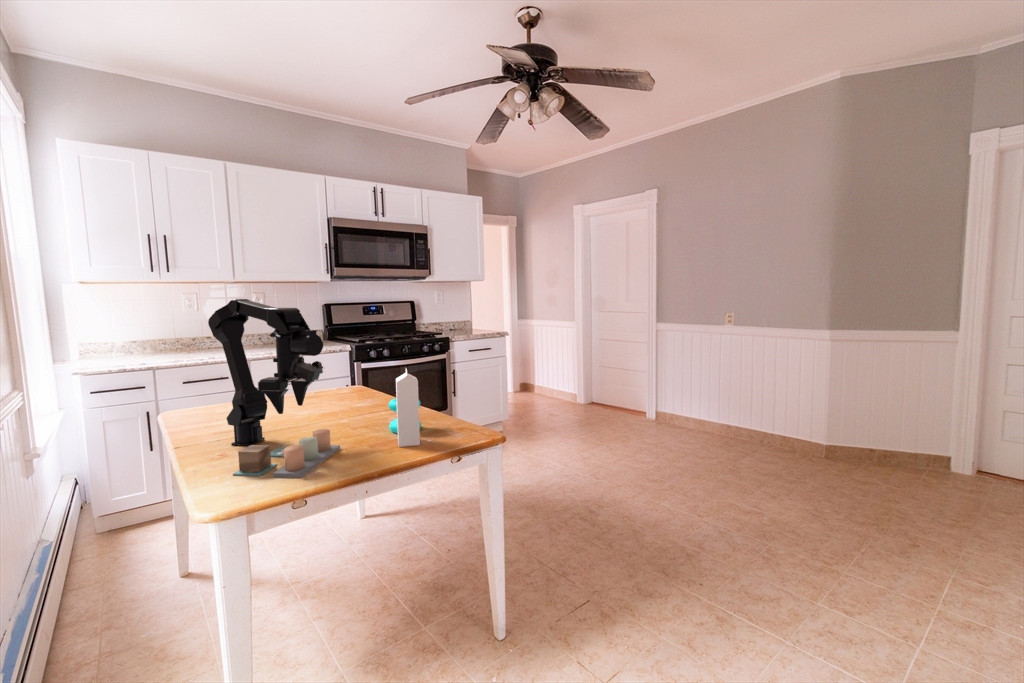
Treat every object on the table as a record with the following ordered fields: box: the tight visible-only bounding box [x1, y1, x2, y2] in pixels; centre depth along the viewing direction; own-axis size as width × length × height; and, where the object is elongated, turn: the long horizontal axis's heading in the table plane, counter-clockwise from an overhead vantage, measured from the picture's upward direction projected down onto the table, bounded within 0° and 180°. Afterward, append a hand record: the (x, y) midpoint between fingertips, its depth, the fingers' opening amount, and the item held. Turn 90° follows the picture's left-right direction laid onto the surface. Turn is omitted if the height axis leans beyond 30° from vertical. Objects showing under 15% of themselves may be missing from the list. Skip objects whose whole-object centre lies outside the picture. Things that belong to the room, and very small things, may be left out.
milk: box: [395, 368, 421, 448], centre depth 135 cm, size 6×6×22 cm
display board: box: [272, 428, 341, 479], centre depth 121 cm, size 7×21×6 cm, turn 176°
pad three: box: [270, 446, 287, 458], centre depth 129 cm, size 7×7×1 cm
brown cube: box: [237, 444, 272, 472], centre depth 116 cm, size 5×5×5 cm
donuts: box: [388, 398, 422, 434], centre depth 149 cm, size 10×10×10 cm
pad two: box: [232, 463, 278, 477], centre depth 116 cm, size 7×7×1 cm
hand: (290, 409), depth 129 cm, fingers open, 9 cm apart
